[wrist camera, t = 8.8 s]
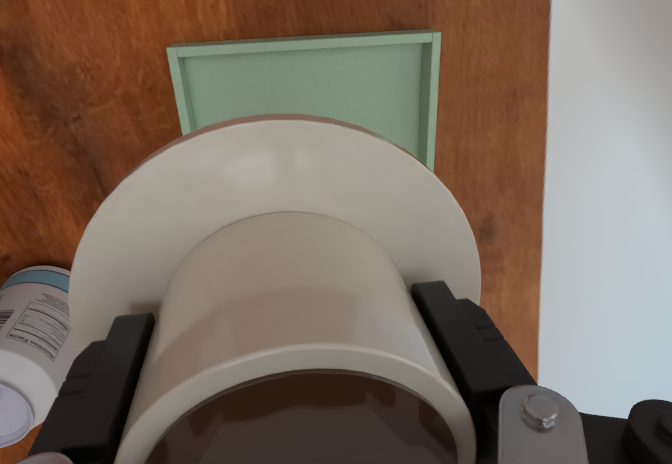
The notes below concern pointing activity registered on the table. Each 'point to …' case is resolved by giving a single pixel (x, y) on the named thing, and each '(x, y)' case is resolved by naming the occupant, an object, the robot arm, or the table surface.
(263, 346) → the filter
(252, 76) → the tray
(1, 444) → the beverage can
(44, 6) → the table surface
